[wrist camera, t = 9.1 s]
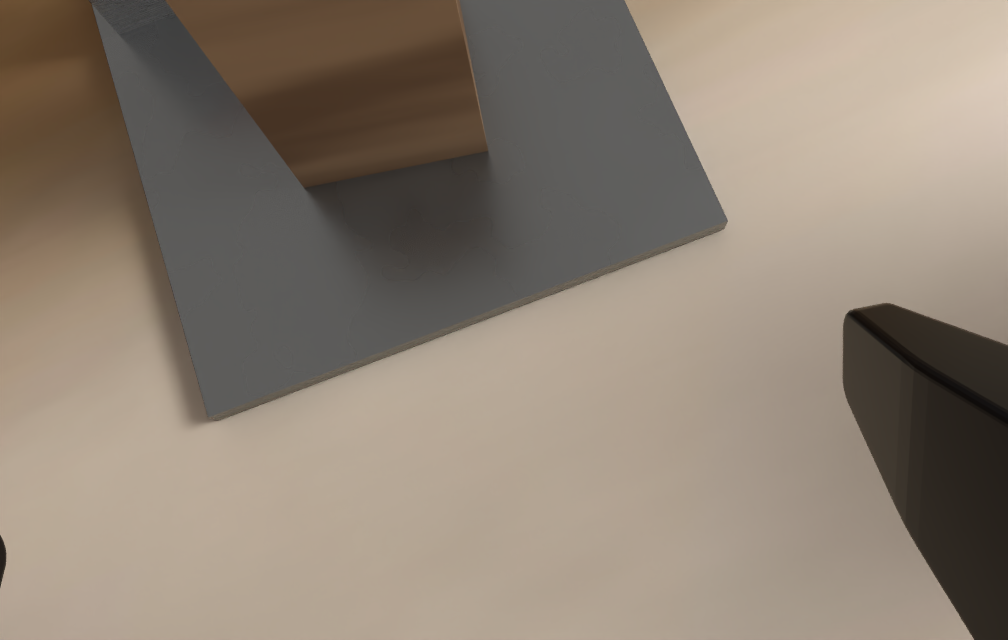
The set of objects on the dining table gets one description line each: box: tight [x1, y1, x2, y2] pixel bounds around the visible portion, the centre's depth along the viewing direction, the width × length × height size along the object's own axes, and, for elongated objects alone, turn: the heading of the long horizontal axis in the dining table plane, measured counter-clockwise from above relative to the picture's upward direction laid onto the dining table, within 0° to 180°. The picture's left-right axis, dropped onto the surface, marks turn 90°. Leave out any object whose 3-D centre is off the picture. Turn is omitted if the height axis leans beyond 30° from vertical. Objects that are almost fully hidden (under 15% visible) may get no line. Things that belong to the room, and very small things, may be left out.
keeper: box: [89, 0, 728, 421], centre depth 22 cm, size 14×14×7 cm
